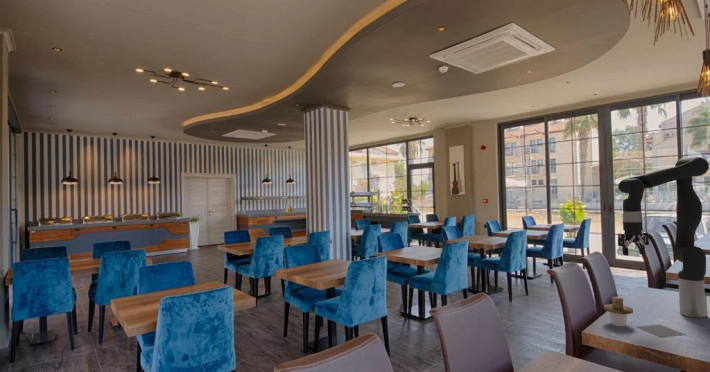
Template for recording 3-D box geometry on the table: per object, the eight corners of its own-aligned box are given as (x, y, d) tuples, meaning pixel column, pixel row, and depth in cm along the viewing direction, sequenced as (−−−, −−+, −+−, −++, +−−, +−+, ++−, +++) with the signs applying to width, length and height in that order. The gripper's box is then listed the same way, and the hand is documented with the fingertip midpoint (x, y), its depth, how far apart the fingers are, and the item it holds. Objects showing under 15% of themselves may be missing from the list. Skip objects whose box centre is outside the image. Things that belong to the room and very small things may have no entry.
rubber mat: (660, 326, 169) (659, 324, 169) (686, 336, 157) (686, 334, 157) (635, 328, 167) (635, 326, 167) (661, 339, 155) (661, 337, 155)
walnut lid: (619, 305, 178) (618, 293, 178) (639, 312, 167) (639, 300, 167) (597, 307, 177) (597, 295, 177) (617, 315, 166) (616, 302, 166)
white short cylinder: (610, 321, 177) (609, 306, 177) (628, 324, 172) (627, 309, 172) (608, 326, 171) (608, 310, 171) (627, 329, 167) (626, 313, 167)
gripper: (638, 219, 185) (640, 252, 184) (612, 220, 183) (614, 254, 183) (652, 220, 177) (654, 255, 177) (625, 222, 175) (627, 257, 175)
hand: (633, 254), depth 180 cm, fingers open, 8 cm apart
